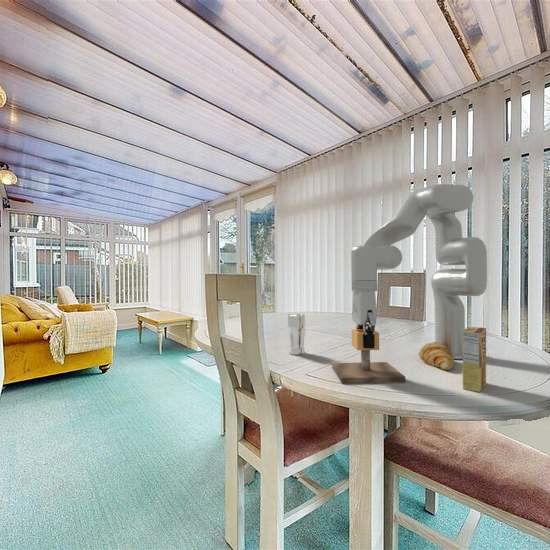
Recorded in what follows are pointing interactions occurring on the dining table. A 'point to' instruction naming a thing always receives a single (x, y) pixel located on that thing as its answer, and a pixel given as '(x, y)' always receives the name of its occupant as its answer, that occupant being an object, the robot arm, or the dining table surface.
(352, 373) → the post board
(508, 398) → the dining table surface
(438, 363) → the croissant
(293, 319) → the beer glass
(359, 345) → the collar
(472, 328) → the candy box
